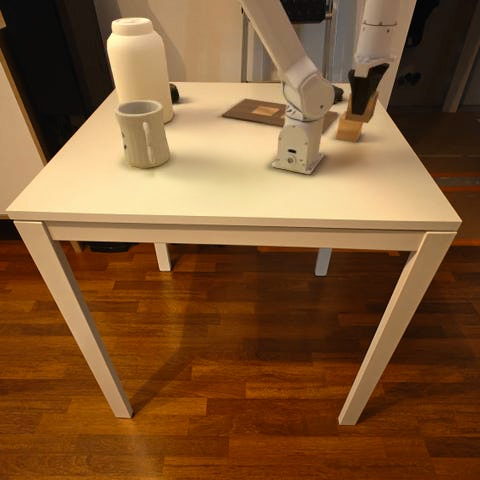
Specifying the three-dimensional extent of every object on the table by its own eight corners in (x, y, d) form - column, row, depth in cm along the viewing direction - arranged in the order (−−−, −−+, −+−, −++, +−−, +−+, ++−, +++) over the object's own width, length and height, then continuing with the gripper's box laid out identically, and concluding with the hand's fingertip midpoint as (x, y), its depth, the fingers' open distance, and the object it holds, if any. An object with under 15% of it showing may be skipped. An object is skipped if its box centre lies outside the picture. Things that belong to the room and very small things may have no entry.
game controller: (306, 91, 102) (321, 72, 100) (316, 104, 105) (330, 86, 104) (326, 101, 95) (342, 81, 94) (335, 114, 99) (351, 95, 97)
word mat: (321, 133, 83) (321, 131, 82) (221, 116, 91) (221, 114, 90) (337, 114, 91) (337, 111, 91) (245, 100, 100) (245, 98, 99)
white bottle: (136, 132, 84) (114, 27, 70) (115, 117, 91) (91, 18, 77) (183, 120, 89) (171, 20, 75) (159, 107, 96) (145, 13, 82)
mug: (123, 153, 76) (110, 102, 69) (165, 147, 78) (157, 96, 71) (132, 180, 68) (119, 125, 60) (179, 172, 70) (172, 118, 63)
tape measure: (155, 106, 97) (152, 90, 94) (153, 98, 102) (151, 83, 99) (180, 104, 98) (178, 88, 95) (177, 96, 103) (176, 81, 100)
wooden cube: (355, 142, 79) (360, 120, 76) (335, 138, 81) (339, 116, 77) (360, 134, 82) (365, 113, 79) (341, 131, 84) (345, 110, 80)
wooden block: (367, 123, 68) (374, 96, 65) (344, 119, 70) (349, 93, 67) (373, 115, 71) (379, 89, 68) (350, 112, 73) (355, 86, 69)
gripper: (396, 32, 54) (373, 126, 64) (411, 18, 63) (388, 101, 73) (350, 28, 56) (334, 119, 66) (370, 15, 65) (354, 97, 75)
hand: (360, 110), depth 70 cm, fingers closed on wooden block, 4 cm apart
